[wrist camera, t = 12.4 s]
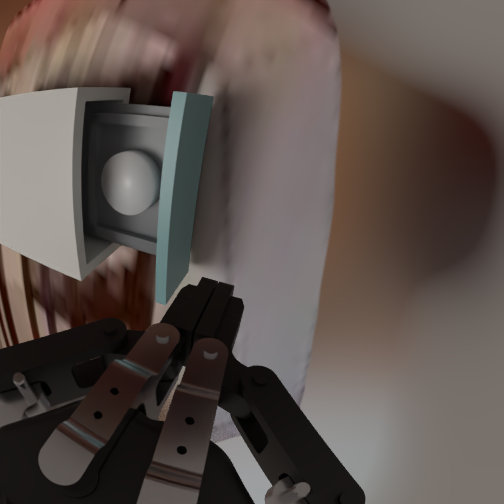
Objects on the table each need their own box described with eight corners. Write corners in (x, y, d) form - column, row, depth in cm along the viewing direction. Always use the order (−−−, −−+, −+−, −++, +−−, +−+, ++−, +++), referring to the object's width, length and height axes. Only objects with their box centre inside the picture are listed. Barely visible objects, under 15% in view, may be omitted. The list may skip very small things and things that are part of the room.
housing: (120, 245, 32) (81, 281, 25) (37, 218, 32) (-2, 242, 25) (130, 88, 23) (77, 87, 16) (36, 92, 24) (-11, 100, 17)
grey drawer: (188, 271, 30) (165, 305, 25) (76, 236, 31) (45, 259, 25) (213, 96, 21) (187, 92, 16) (79, 90, 22) (38, 93, 17)
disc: (160, 215, 26) (152, 221, 25) (110, 203, 27) (101, 209, 25) (164, 153, 24) (156, 156, 22) (111, 146, 24) (102, 149, 23)
